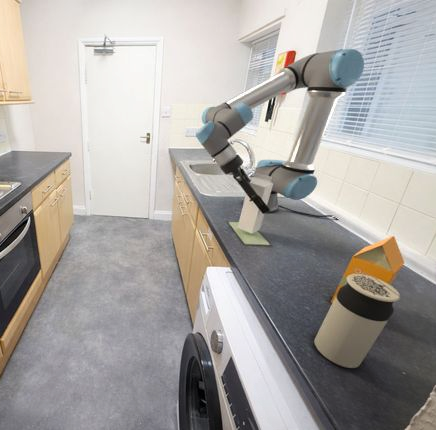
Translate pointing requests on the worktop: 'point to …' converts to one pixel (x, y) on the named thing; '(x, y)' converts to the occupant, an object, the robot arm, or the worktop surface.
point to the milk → (250, 211)
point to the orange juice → (375, 262)
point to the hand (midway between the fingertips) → (264, 207)
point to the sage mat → (249, 236)
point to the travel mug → (355, 319)
